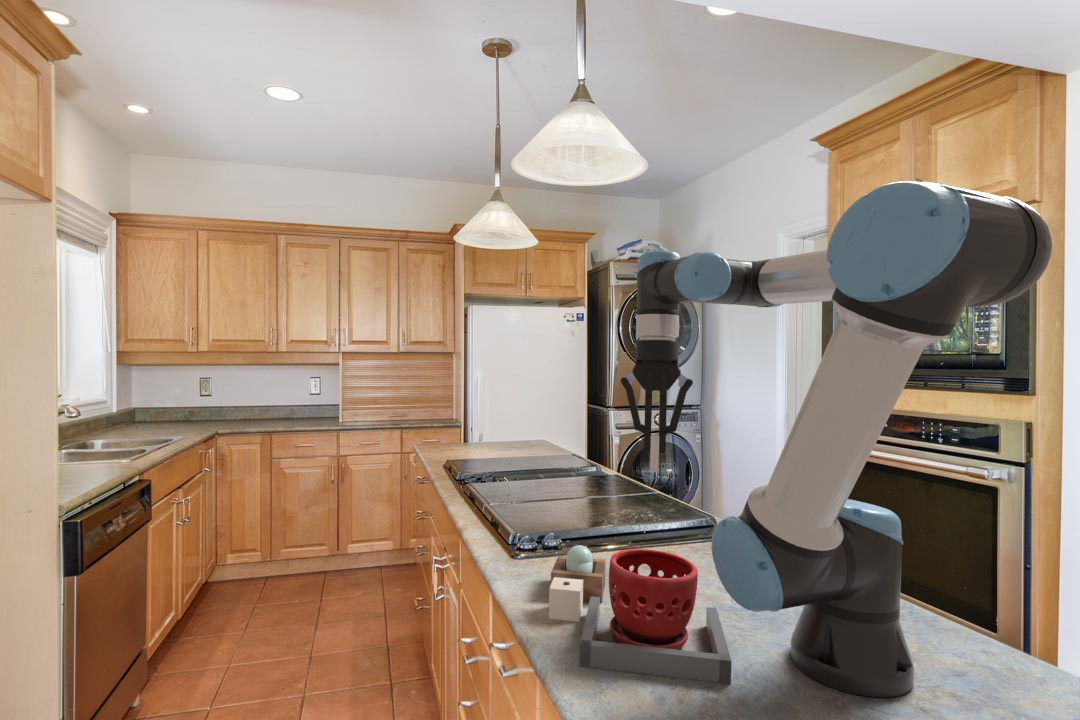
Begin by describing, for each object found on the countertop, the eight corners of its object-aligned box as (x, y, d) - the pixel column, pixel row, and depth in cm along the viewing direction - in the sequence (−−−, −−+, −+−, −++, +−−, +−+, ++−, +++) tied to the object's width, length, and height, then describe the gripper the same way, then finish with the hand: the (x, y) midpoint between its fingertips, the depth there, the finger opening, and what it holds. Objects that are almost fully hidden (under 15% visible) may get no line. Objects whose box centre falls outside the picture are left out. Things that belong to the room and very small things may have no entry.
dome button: (593, 579, 108) (594, 542, 108) (590, 589, 103) (591, 551, 103) (567, 577, 109) (568, 540, 109) (564, 587, 104) (564, 549, 104)
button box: (605, 583, 110) (605, 559, 110) (601, 602, 101) (602, 576, 101) (557, 578, 112) (558, 555, 111) (550, 597, 103) (551, 572, 103)
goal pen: (715, 626, 93) (716, 608, 93) (730, 683, 77) (731, 661, 77) (590, 614, 96) (590, 596, 96) (579, 666, 80) (579, 644, 80)
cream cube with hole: (582, 609, 99) (583, 578, 99) (579, 622, 94) (580, 590, 94) (553, 606, 100) (554, 575, 99) (548, 619, 95) (549, 587, 95)
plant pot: (635, 670, 80) (637, 582, 80) (592, 627, 92) (594, 551, 92) (714, 654, 84) (716, 571, 84) (663, 615, 97) (665, 543, 96)
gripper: (692, 340, 107) (689, 468, 107) (621, 339, 110) (618, 464, 110) (696, 339, 100) (693, 476, 100) (619, 338, 102) (616, 472, 102)
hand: (654, 470), depth 105 cm, fingers closed
